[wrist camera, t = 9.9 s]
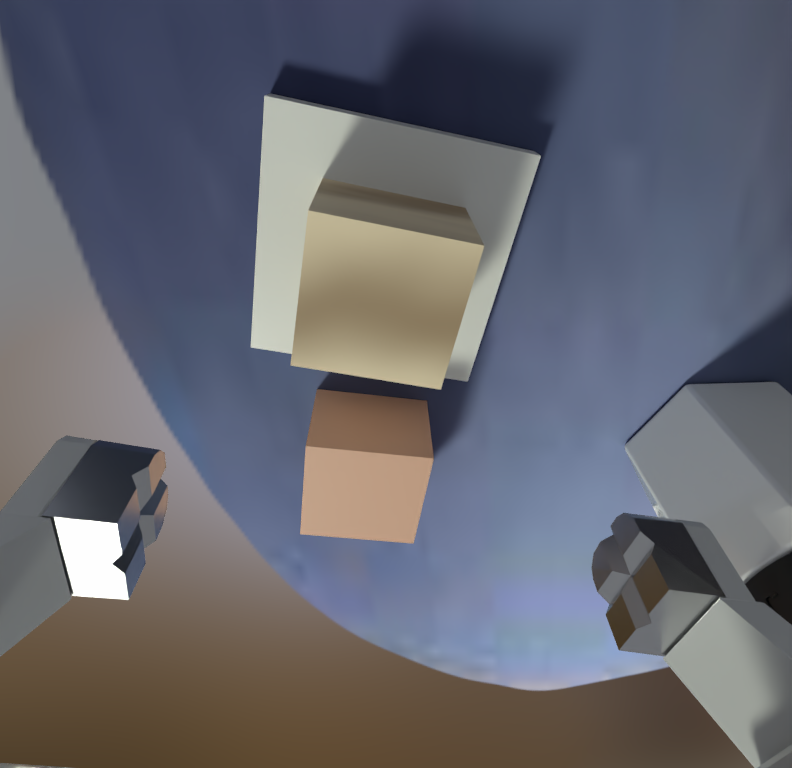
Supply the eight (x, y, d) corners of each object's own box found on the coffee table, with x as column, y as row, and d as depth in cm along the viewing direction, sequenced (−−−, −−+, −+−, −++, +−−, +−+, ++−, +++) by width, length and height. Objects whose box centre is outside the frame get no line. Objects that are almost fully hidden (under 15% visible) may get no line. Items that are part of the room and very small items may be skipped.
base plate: (269, 93, 19) (264, 95, 18) (534, 151, 20) (540, 156, 19) (255, 336, 24) (250, 347, 23) (465, 370, 25) (467, 381, 24)
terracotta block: (317, 387, 26) (305, 446, 22) (426, 399, 26) (433, 458, 23) (311, 470, 29) (300, 534, 25) (409, 479, 29) (413, 543, 26)
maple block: (322, 177, 19) (308, 210, 16) (465, 207, 20) (484, 245, 16) (306, 310, 22) (290, 365, 18) (431, 332, 23) (440, 389, 19)
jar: (605, 417, 27) (736, 638, 17) (770, 344, 25) (1033, 549, 15) (653, 519, 31) (781, 744, 21) (797, 464, 29) (1016, 686, 19)
